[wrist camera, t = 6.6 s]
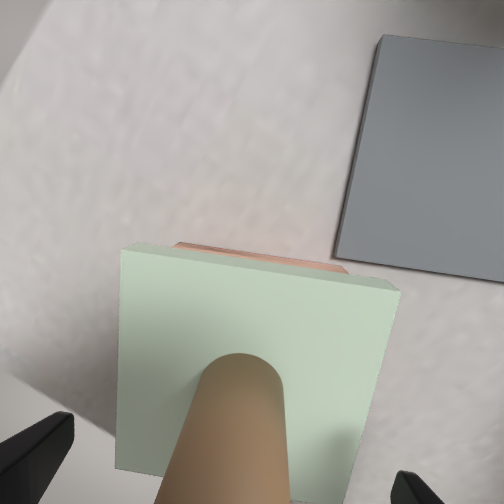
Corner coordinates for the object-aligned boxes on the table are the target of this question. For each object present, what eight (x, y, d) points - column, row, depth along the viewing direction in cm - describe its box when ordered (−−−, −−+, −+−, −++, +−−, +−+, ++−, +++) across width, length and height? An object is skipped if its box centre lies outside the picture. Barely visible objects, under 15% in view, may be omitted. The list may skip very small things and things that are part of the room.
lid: (386, 279, 10) (575, 426, 4) (334, 477, 12) (401, 780, 6) (138, 242, 10) (-63, 322, 4) (129, 441, 12) (-12, 694, 6)
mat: (607, 68, 11) (624, 62, 10) (525, 283, 13) (535, 286, 12) (378, 41, 11) (383, 34, 11) (333, 254, 13) (336, 257, 13)
